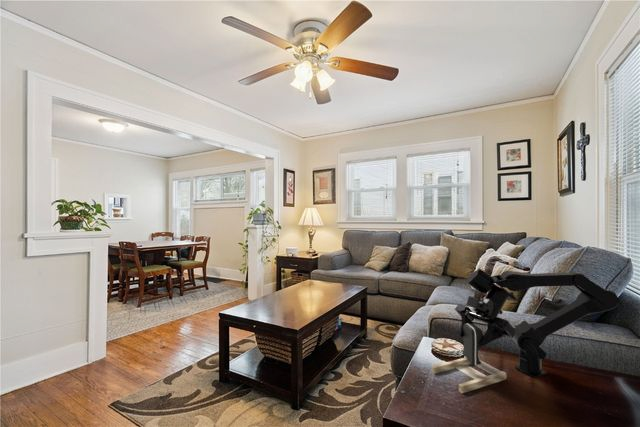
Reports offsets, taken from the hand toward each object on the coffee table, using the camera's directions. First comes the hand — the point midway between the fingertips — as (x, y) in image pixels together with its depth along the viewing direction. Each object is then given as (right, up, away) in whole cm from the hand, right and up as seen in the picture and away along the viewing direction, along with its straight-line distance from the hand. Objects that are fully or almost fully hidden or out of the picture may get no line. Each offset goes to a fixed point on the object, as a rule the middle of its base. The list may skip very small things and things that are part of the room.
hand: (470, 340), depth 96 cm
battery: (+1, -7, +1) cm, 7 cm away
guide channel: (0, -11, 0) cm, 11 cm away
